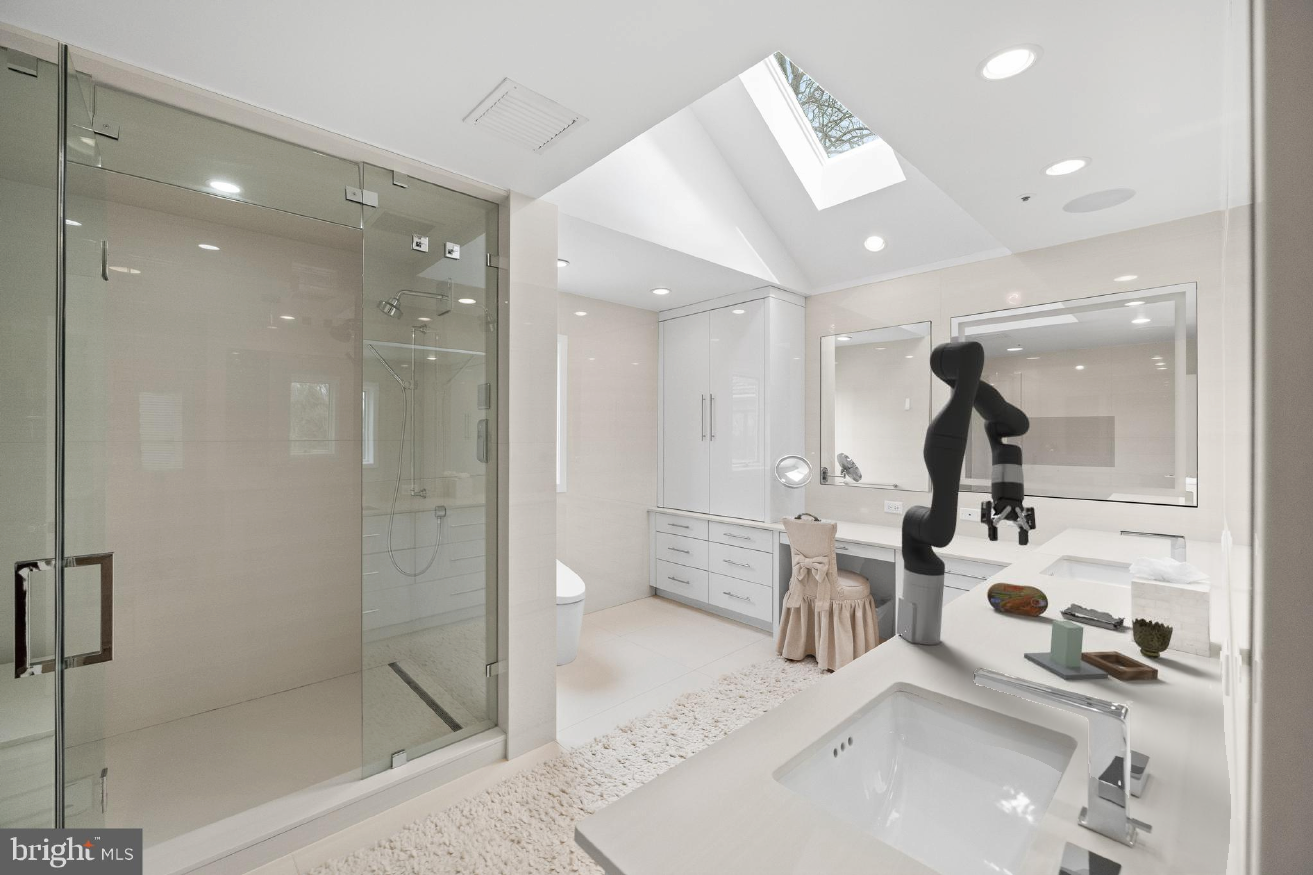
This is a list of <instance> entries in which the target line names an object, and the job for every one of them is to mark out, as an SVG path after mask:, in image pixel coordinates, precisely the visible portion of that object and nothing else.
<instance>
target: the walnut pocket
mask: <svg viewBox="0 0 1313 875" xmlns="http://www.w3.org/2000/svg"><path fill="white" fill-rule="evenodd" d="M1081 660H1082V661H1084V662H1086V663H1088V664H1090V665H1092V666H1094V667H1097V668H1099V669H1101V670H1103V671H1105V672H1107V673H1109V674H1108V676H1111V677H1113V678H1115V679H1117V680H1119V681H1135V680H1136V681H1137V680H1140V681H1141V680H1157V679H1158V678H1159V677H1158V676H1159V675H1158V674H1159V670H1158V669H1157V668H1155V667H1152V666H1150V665H1148V664H1146V663H1144V662H1142V661H1139V660H1137V659H1135V658H1133V657H1130V656H1128V655H1125V654H1123V653H1121V652H1118V651H1115V650H1114V651H1089V652H1087V651H1086V652H1085V651H1084V652H1082V654H1081ZM1113 663H1114V664H1113ZM1115 663H1116V664H1118V665H1120V666H1123V667H1119V666H1118V665H1115Z"/></svg>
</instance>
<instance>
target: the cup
mask: <svg viewBox="0 0 1313 875" xmlns="http://www.w3.org/2000/svg"><path fill="white" fill-rule="evenodd" d="M1131 622H1132V635H1133V640H1134V643H1135V644H1136V645H1137V647H1139V648H1140V649H1139V652H1140V654H1141V655H1142V656H1144V657H1146V656H1147V658H1150V659H1159V658H1160V656H1161V653H1163V652H1164V651H1166V650H1167V649H1168V648H1169V646H1170V643H1171V639H1172V635H1173V631H1174V629H1173V626H1170V625H1166V626H1165V624H1164V623H1163V622H1161V623H1160V622H1159V621H1154V623H1153V620H1152V619H1151V620H1148V621H1147V619H1145V618H1140V619H1139V618H1135V619H1134V620H1133V619H1131Z"/></svg>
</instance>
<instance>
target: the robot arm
mask: <svg viewBox="0 0 1313 875" xmlns="http://www.w3.org/2000/svg"><path fill="white" fill-rule="evenodd" d="M984 364H985V349H984V347H983V345H982V343H980V342H979V341H973V340H971V341H970V340H969V341H967V340H966V341H953V342H943V343H939V344H937V345H936V346H935V347H933V349H932V350H931V353H930V356H929V367H930V369H931V372H932V373H933V374H934V375H935V377H937V378H938V379H939V380H940V381H942V382H943V383H944V384H946V385H947V386H948V387H950V388H951V389H952V390H953V392H952V394H951V396H950V398H949V399H948V401H947V402H946V404H945V405H944V406H943V407H942V408H941V410H939V412H938V413H937V414H936V415H935V416H934V418H933V419H932V420H931V422H930V423H929V425H928V426H927V429H926V433H925V439H924V445H923V451H922V452H923V454H922V456H923V460H924V464H925V466H926V469H927V472H928V474H929V477H930V480H931V485H932V498H931V504H930V507H929V506H924V505H913V506H911V507H909V508H908V509H907V511H906V512H905V514H904V517H903V518H902V524H901V556H902V560H903V562H904V563H903V565H904V566H903V567H904V568H903V578H902V579H903V580H902V581H903V582H902V594H901V595H902V596H899V597H898V602H897V603H898V604H897V620H896V634H897V635H899V636H900V635H901V634H902V635H901V636H900V637H901V638H903V639H904V640H906V641H907V642H909V643H912V644H913V643H914V644H920V645H925V646H927V645H929V646H931V645H938V644H939V643H940V642H941V635H942V634H941V633H942V617H943V602H944V586H945V572H946V563H945V562H944V561H943V559H941V558H940V557H939V556H938V555H937V554H936V553H935V552H934V549H933V548H937V549H941V548H943V549H944V548H946V547H947V546H948V545H950V543H951V542H952V540H953V538H954V536H955V533H956V528H957V518H958V504H959V503H958V502H959V492H960V483H961V477H962V471H963V470H962V469H963V464H964V461H965V460H964V459H965V455H966V449H967V444H968V437H969V436H968V435H969V428H970V425H971V424H970V423H971V418H972V412H973V408H974V410H975V411H976V412H977V413H978V414H979V415H980V417H981V418H982V419H983V420H984V422H983V427H984V432H985V434H986V437H987V439H988V443H989V446H990V450H991V464H992V465H991V475H990V480H991V482H990V483H991V484H990V486H991V487H990V490H991V499H992V501H991V500H984V501H983V500H982V501H981V504H980V523H981V524H985V525H986V526H987V537H988V539H989V541H990V542H998V540H999V535H998V534H999V533H998V532H999V530H998V529H999V528H998V524H999V523H1000V522H1001V521H1008V522H1012V524H1014V525H1015V526H1016V527H1017V529H1018V545H1019V546H1027V545H1028V544H1029V531H1031V530H1036V528H1037V524H1036V512H1035V508H1034V506H1031V507H1030V506H1028V507H1027V506H1024V503H1023V502H1024V501H1025V479H1024V469H1023V451H1022V448H1021V447H1020V446H1019V445H1017V444H1010V443H1004V442H1003V438H1004V439H1005V438H1015V437H1021V436H1024V435H1026V433H1027V432H1028V431H1029V429H1030V421H1029V417H1028V416H1027V415H1026V413H1025V412H1024V411H1022V409H1020V408H1019V407H1017V406H1015V405H1013V404H1011V403H1010V402H1007V401H1006V399H1005V398H1004V397H1003V396H1002V393H1001V392H999V391H998V389H996V388H995V387H994V386H993V385H991V384H989V383H987V382H986V381H984V380H981V378H982V373H983V370H984ZM992 510H993V512H992ZM932 547H933V548H932ZM905 631H906V632H905Z"/></svg>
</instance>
